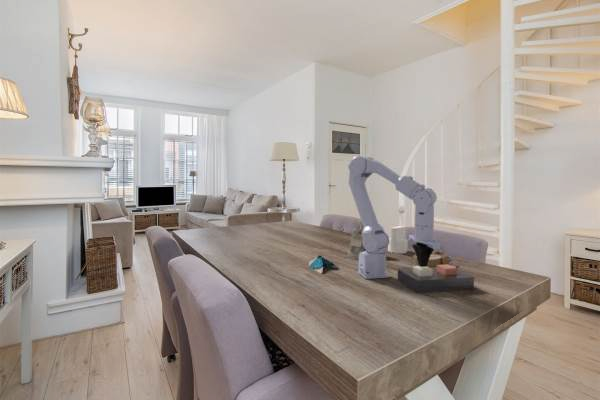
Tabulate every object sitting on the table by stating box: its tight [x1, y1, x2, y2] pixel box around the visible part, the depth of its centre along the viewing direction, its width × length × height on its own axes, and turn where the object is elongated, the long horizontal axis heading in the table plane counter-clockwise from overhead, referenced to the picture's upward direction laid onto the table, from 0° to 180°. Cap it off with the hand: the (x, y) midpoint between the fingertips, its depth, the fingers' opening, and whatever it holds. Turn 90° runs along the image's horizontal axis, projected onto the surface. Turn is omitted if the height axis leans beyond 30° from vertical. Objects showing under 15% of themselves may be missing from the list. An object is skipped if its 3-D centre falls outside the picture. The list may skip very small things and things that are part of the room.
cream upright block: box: [387, 225, 409, 254], centre depth 148 cm, size 9×9×12 cm
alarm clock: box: [411, 251, 453, 268], centre depth 126 cm, size 11×5×15 cm
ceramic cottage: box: [346, 223, 388, 260], centre depth 138 cm, size 16×16×15 cm
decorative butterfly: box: [308, 255, 340, 274], centre depth 120 cm, size 10×6×10 cm
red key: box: [437, 263, 458, 275], centre depth 102 cm, size 4×4×3 cm
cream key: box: [412, 265, 433, 277], centre depth 100 cm, size 4×4×3 cm
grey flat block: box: [397, 267, 475, 294], centre depth 101 cm, size 20×12×4 cm, turn 101°
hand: (422, 266), depth 100 cm, fingers closed
